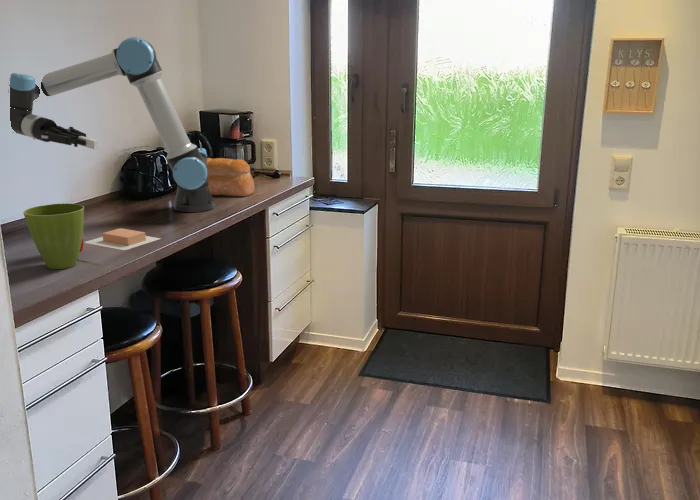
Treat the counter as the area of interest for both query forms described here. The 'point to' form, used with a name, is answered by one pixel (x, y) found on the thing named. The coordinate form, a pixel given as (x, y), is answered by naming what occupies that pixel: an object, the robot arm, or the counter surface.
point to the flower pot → (57, 233)
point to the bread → (229, 177)
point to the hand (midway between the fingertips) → (95, 144)
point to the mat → (118, 246)
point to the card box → (124, 236)
